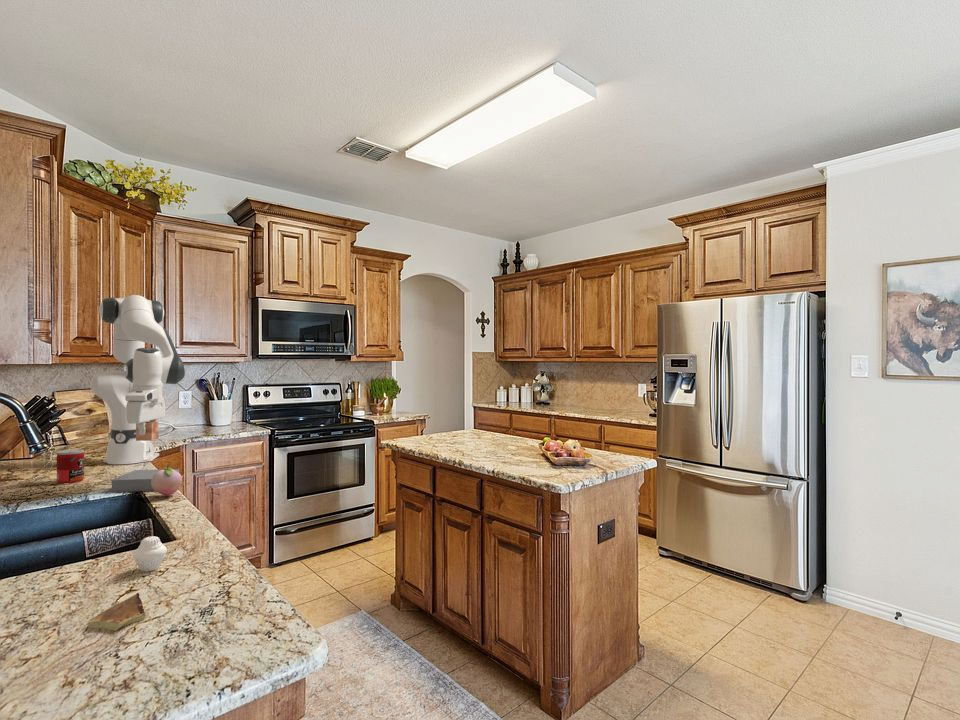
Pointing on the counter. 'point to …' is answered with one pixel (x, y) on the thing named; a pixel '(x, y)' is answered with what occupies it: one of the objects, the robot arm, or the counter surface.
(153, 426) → the terracotta block
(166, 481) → the decorative fruit
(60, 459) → the canned food
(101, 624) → the shard
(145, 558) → the muffin
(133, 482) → the base slab
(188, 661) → the counter surface
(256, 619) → the counter surface
